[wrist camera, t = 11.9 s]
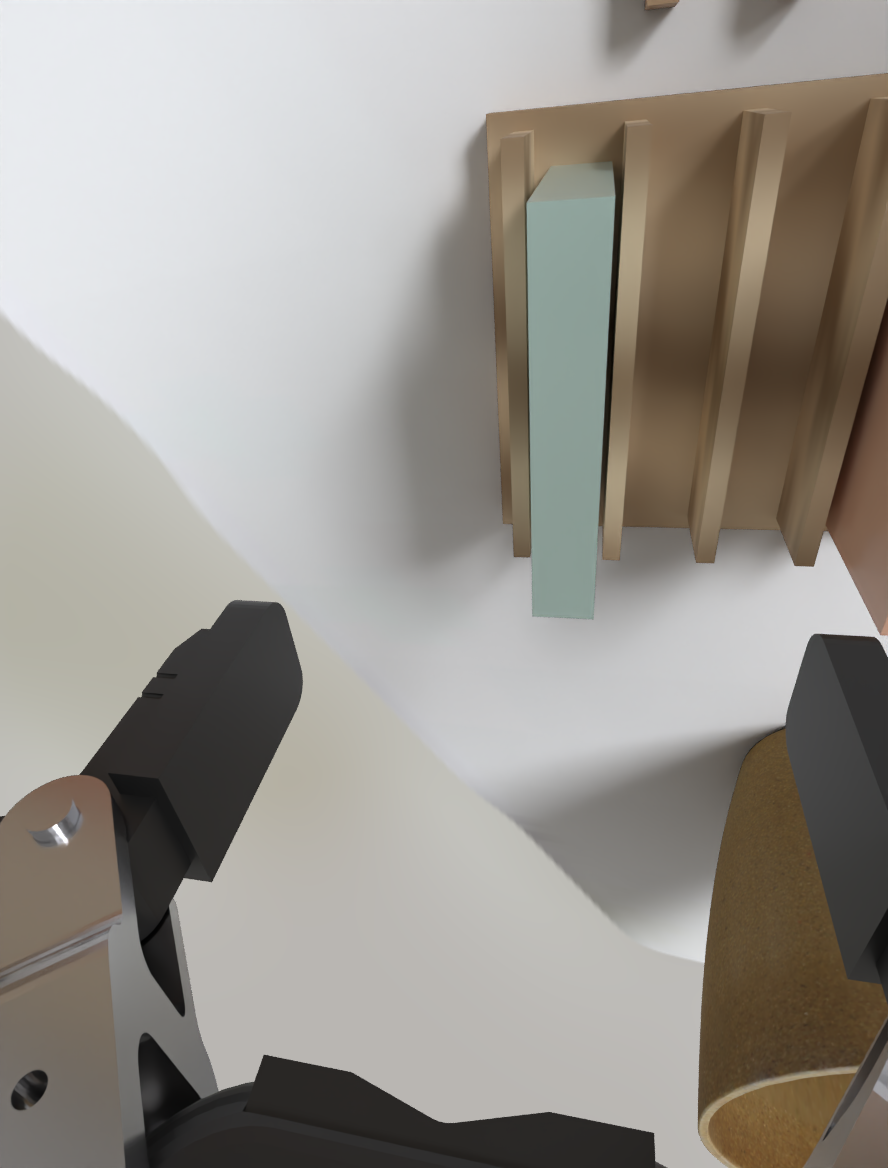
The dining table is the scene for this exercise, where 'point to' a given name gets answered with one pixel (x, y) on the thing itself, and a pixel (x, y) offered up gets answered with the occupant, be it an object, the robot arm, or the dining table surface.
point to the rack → (710, 300)
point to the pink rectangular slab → (867, 489)
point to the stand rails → (659, 4)
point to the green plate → (568, 379)
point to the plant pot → (774, 982)
